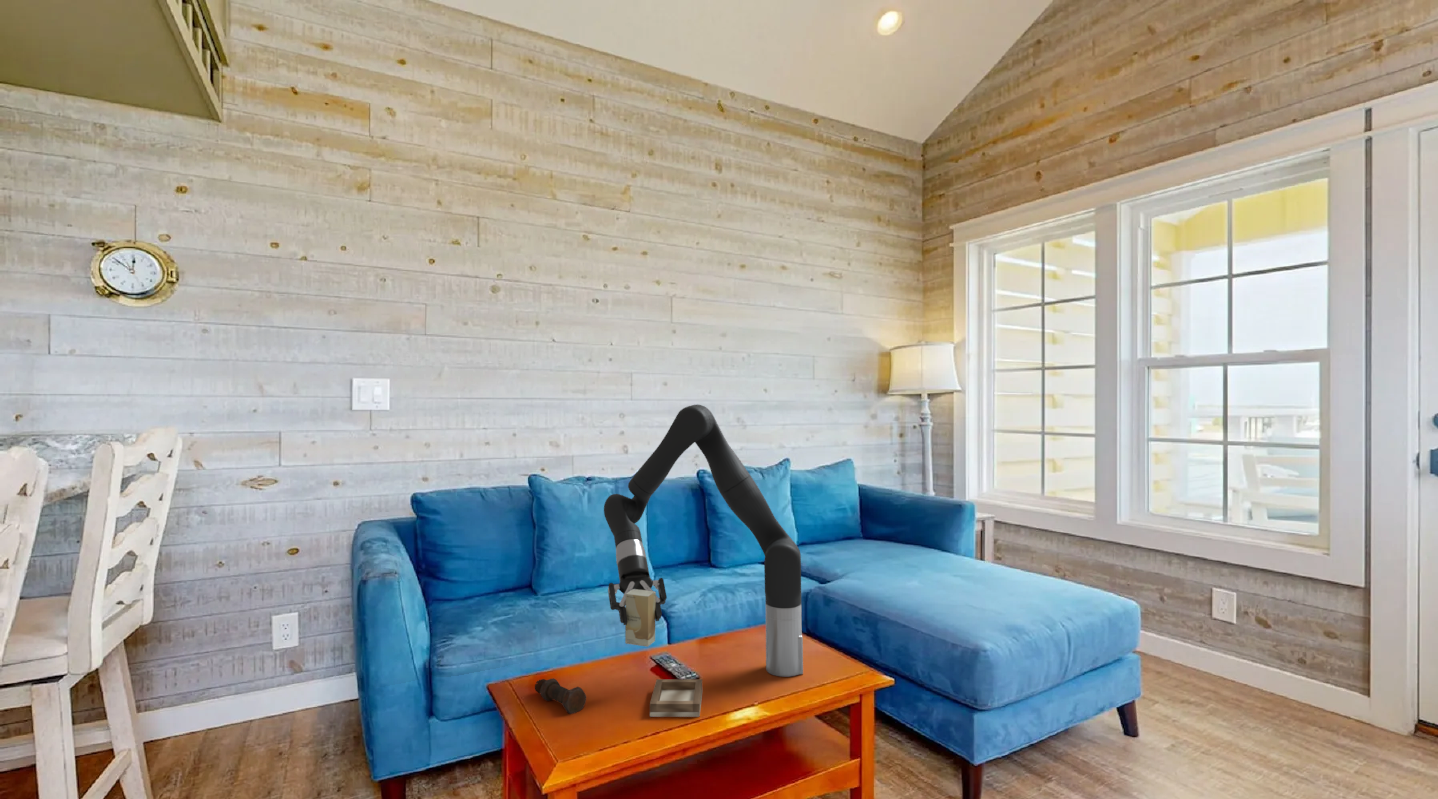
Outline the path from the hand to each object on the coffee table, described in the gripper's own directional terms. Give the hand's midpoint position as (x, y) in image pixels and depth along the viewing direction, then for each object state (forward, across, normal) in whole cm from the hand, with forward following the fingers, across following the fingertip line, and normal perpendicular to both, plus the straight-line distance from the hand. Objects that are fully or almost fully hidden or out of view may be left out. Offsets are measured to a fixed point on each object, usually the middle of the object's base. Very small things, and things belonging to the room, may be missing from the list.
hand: (642, 621), depth 158 cm
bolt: (+11, -20, +14) cm, 26 cm away
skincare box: (+3, 0, +5) cm, 6 cm away
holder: (+18, +6, +6) cm, 20 cm away
